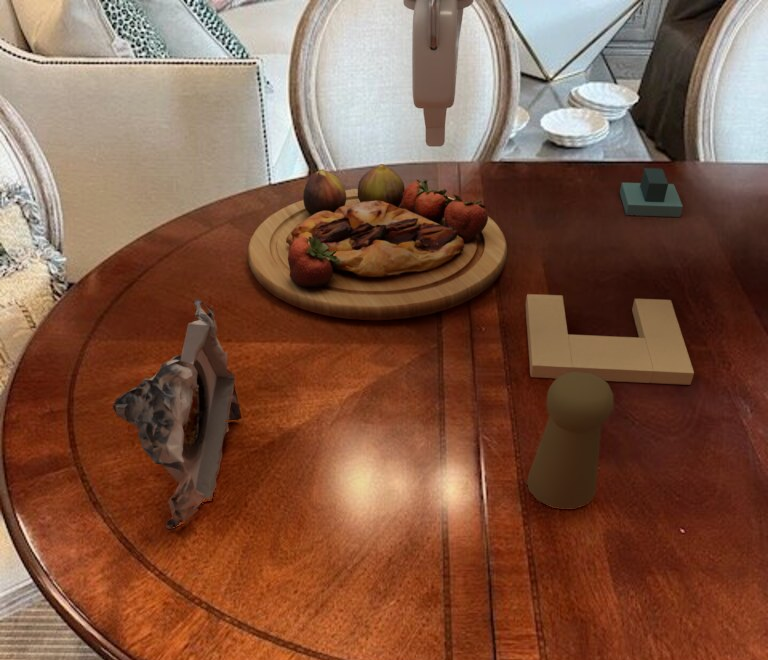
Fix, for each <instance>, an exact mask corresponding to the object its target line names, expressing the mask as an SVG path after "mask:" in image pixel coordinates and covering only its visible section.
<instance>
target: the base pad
mask: <svg viewBox="0 0 768 660" xmlns="http://www.w3.org/2000/svg"><path fill="white" fill-rule="evenodd" d="M564 303H565V302H564V296H563V295H559V294H533V293H527V295H526V299H525V320H526V331H527V332H526V333H527V346H528V347H527V348H528V359H529V361H528V363H529V373H530V374H529V375H530V378H537V379H538V378H541V379H557V378H558V377H560V376H562V375H563V374H566V373H570V372H585V373H590V374H593V375H597V376H598V377H600V378H602V379H604V380H605V381H606V382H622V383H638V384H639V383H641V384H642V383H643V384H662V385H663V384H664V385H683V386H684V385H685V386H687V385H688V386H690V385H691V384H692V381H693V378H694V375H695V371H694V367H693V365H692V362H691V358H690V355H689V353H688V350H687V345H686V342H685V340H684V337H683V334H682V331H681V327H680V324H679V321H678V318H677V315H676V312H675V308H674V305H673V302H672V300H671V299H655V298H634V300H633V304H632V309H631V311H632V315H633V320H634V324H635V328H636V331H637V335H638V337H634V336H633V337H632V336H609V335H589V334H569V332H568V325H567V318H566V310H565V304H564Z"/></svg>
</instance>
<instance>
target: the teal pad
mask: <svg viewBox="0 0 768 660" xmlns="http://www.w3.org/2000/svg"><path fill="white" fill-rule="evenodd" d="M640 180H641V181H640V182H621V183H620V189H619V196H620V199H621V203H622V206H623V209H624V213H625V215H626V216H634V215H635V216H638V217H639V216H640V217H662V218H663V217H666V218H681V215H682V212H683V208H684V205H683V203H682V201H681V198H680V196H679V193H678V190H677V189H676V186H675V184H674V183H669V182H668V179H667V176H666V173H665V171H664V169H663V168H655V167H654V168H653V167H652V168H651V167H649V168H648V167H644V168H643V172H642V176H641V179H640Z"/></svg>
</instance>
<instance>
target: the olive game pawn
mask: <svg viewBox="0 0 768 660" xmlns="http://www.w3.org/2000/svg"><path fill="white" fill-rule="evenodd" d="M545 405H546V411H547V414H548V416H549V417H548V419H547V422H546V425H545V428H544V430H543V434H542V436H541V438H540V442H539V444H538V447H537V450H536V453H535V455H534V457H533V460H532V461H533V462H532V464H531V467H530V468H529V472H528V475H527V478H528V479H527V478H526V486H527V485H528V488H529V491H530V492H531V493H532V494H533V495H534V496H535V498H537V499H538V500H540V501H541V502H543V503H545V504H548V505H551V506H553V507H559V508H564V509H566V508H572V509H573V508H577V507H579V506H581V505H582V506H583V505H585V504H587V503H588V502H590V501H591V500H592V498H593V497H594V496H595V497H596V495H595V494H597V483H598V471H599V470H598V469H599V459H600V458H599V456H600V446H601V445H600V444H601V434H602V432H601V431H602V425H604V424H605V423H606V422H607V420H608V419H609V418H610V415H611V414H612V412H613V409H614V392H613V390H612V389H611V386H610V385H609V383H608V381H605V380H604V379H602V378H600V377H598V376H597V375H593V374H590V373H585V372H570V373H566V374H563V375H562V376H560V377H558V378H555V379H554V380H553V381H552V383H551V385H550V386H549V388H548V390H547V394H546V400H545ZM528 488H527V489H528ZM529 491H528V492H529ZM595 497H594V498H595ZM594 498H593V499H594ZM592 501H593V500H592ZM590 503H591V502H590Z"/></svg>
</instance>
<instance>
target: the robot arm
mask: <svg viewBox="0 0 768 660" xmlns="http://www.w3.org/2000/svg"><path fill="white" fill-rule="evenodd" d="M402 2H403V3H402V4H403V6H404V7H405V8H407V9H408V10H412V11H413V16H412V29H411V31H412V32H411V34H412V35H411V41H412V43H411V49H412V50H411V51H412V53H411V54H412V55H411V57H412V58H411V59H412V61H411V64H412V65H411V70H412V71H411V76H412V77H411V78H412V80H411V81H412V83H411V84H412V85H411V87H412V88H411V89H412V102H413V105H414V107H415V108H417V109H422V111H423V119H424V127H425V144H426V146H428V147H430V148H431V147H433V148H434V147H435V148H436V147H442V146H444V145H445V141H446V119H447V109H449V108H452V107H453V106H454V104H455V98H456V88H457V87H456V86H457V73H458V59H459V46H460V37H461V29H462V24H463V17H464V9H465V8H468V7H470V6H471V5H472V4H473V3H474V0H403V1H402Z"/></svg>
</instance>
